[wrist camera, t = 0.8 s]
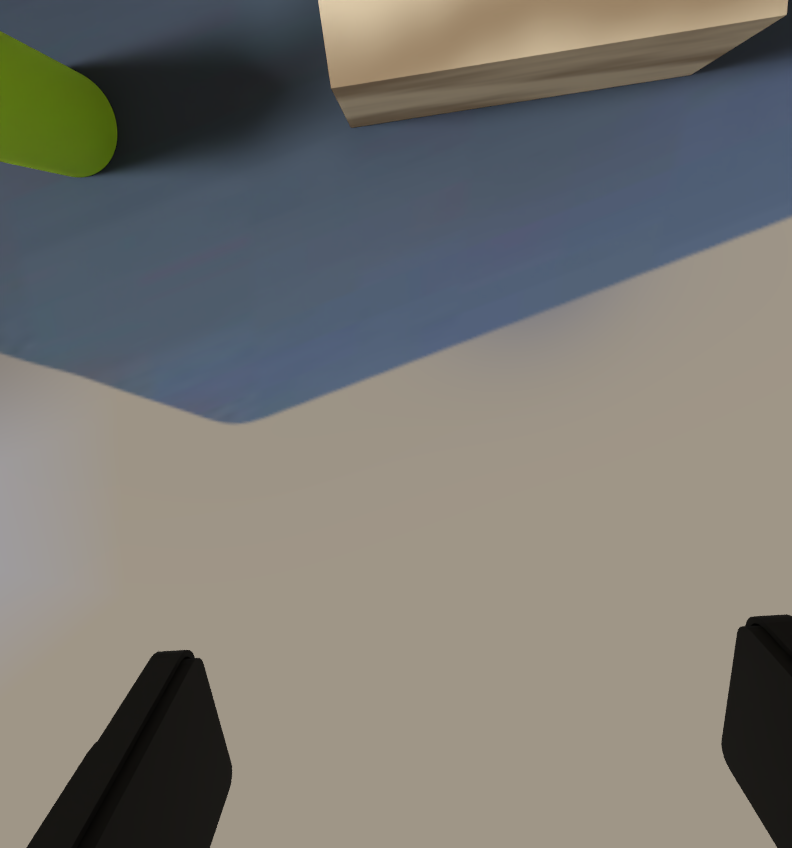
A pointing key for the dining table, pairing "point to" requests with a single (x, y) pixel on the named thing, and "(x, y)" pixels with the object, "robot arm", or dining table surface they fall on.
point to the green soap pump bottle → (51, 114)
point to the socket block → (518, 48)
